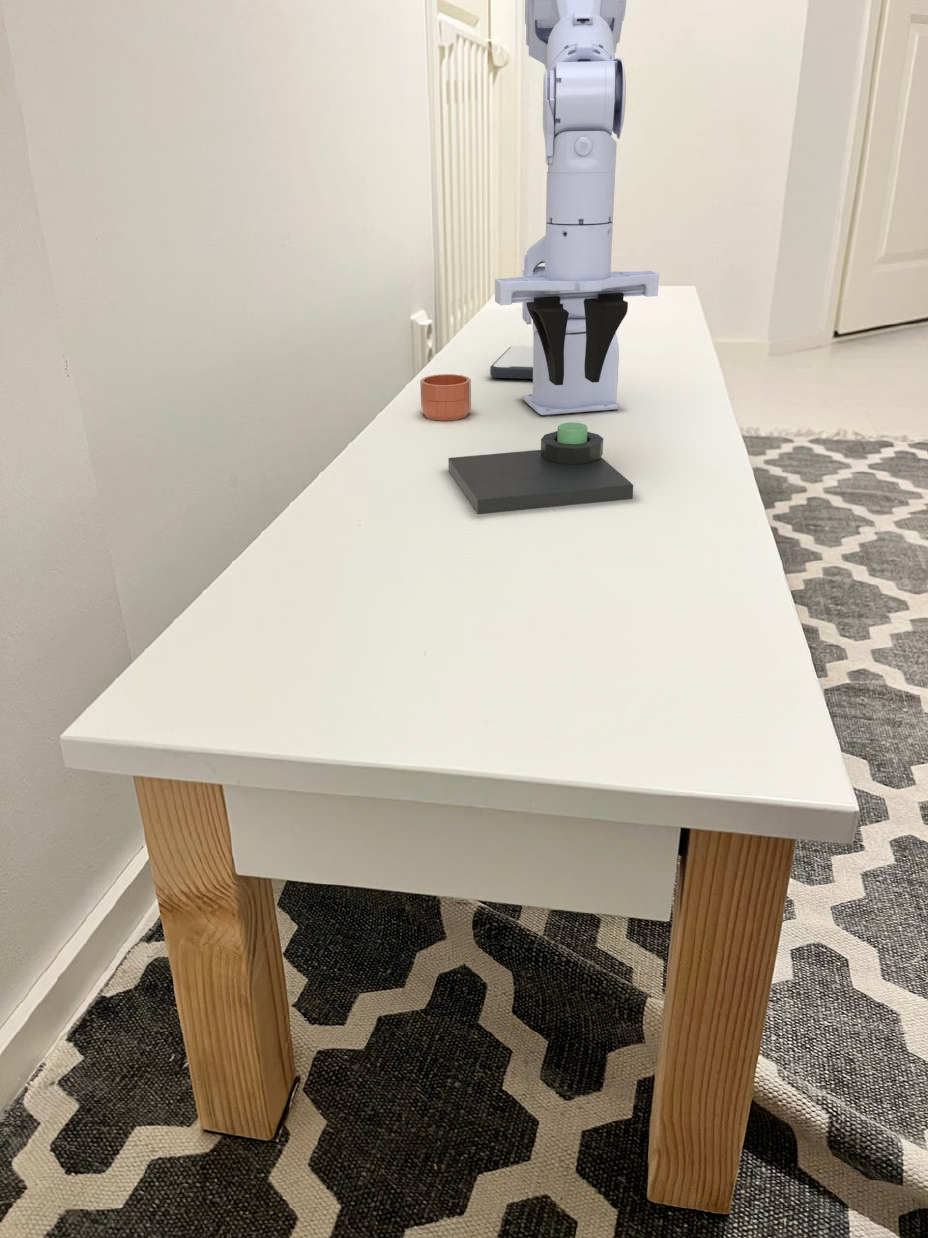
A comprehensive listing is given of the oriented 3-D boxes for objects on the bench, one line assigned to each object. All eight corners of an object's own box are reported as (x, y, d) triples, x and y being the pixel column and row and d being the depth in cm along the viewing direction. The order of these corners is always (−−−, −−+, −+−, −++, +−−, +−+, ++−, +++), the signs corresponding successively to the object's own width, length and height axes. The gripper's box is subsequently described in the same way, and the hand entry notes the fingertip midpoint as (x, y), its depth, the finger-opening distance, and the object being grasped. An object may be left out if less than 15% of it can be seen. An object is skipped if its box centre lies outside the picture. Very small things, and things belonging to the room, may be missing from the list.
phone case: (509, 356, 140) (487, 379, 126) (509, 344, 139) (487, 367, 125) (571, 358, 138) (555, 382, 124) (571, 346, 137) (556, 369, 123)
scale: (589, 457, 96) (590, 428, 95) (636, 499, 85) (638, 466, 84) (447, 470, 93) (446, 440, 92) (477, 515, 83) (477, 481, 81)
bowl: (464, 406, 114) (464, 372, 112) (475, 419, 109) (475, 383, 107) (417, 410, 113) (416, 376, 111) (427, 423, 108) (425, 387, 106)
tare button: (581, 437, 93) (581, 421, 93) (591, 445, 91) (591, 429, 90) (553, 439, 93) (553, 423, 92) (562, 447, 90) (562, 431, 90)
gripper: (509, 229, 78) (509, 397, 84) (677, 222, 81) (665, 385, 87) (488, 222, 84) (489, 379, 91) (645, 216, 87) (635, 368, 93)
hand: (574, 381), depth 89 cm, fingers open, 3 cm apart
